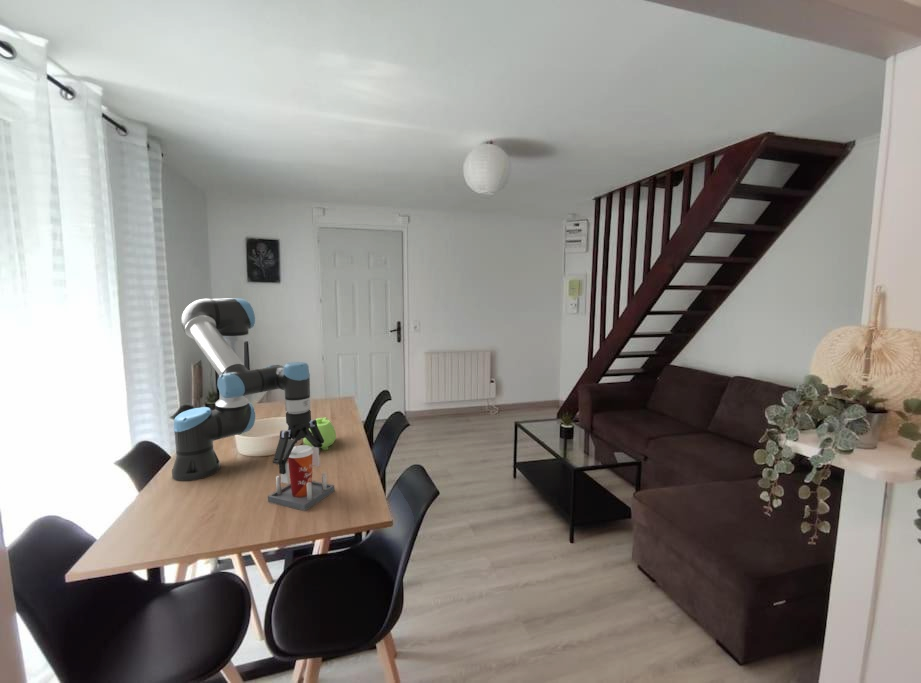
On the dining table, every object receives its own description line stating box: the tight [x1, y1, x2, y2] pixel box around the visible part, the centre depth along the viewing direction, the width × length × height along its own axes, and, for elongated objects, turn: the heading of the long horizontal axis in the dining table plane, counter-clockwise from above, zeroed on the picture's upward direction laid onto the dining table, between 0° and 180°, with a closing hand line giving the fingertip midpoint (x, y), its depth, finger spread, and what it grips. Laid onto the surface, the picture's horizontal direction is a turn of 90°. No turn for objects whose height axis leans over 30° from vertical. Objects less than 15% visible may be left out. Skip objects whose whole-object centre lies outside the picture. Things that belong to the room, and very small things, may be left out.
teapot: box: [302, 416, 337, 451], centre depth 179 cm, size 20×13×13 cm
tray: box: [267, 473, 336, 512], centre depth 135 cm, size 15×14×7 cm
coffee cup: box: [287, 444, 313, 497], centre depth 135 cm, size 8×8×15 cm
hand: (301, 473), depth 135 cm, fingers open, 13 cm apart
